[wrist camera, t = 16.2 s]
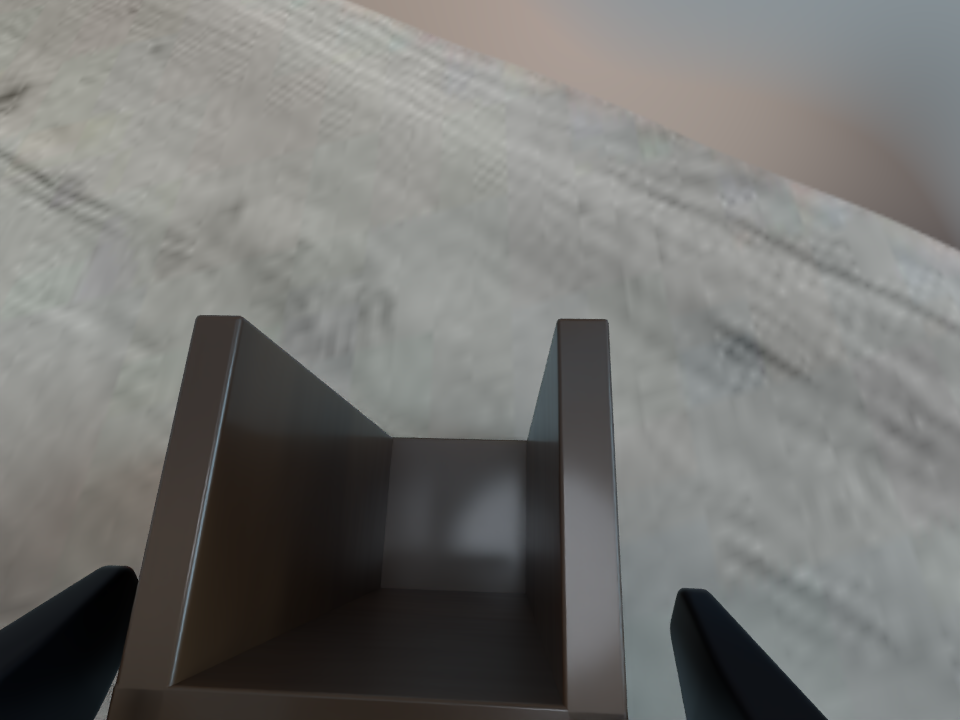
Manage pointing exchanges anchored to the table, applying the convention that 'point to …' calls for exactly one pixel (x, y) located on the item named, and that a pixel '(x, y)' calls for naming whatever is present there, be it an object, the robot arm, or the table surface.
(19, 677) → the robot arm
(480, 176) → the table surface
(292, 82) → the table surface
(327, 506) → the scoop
